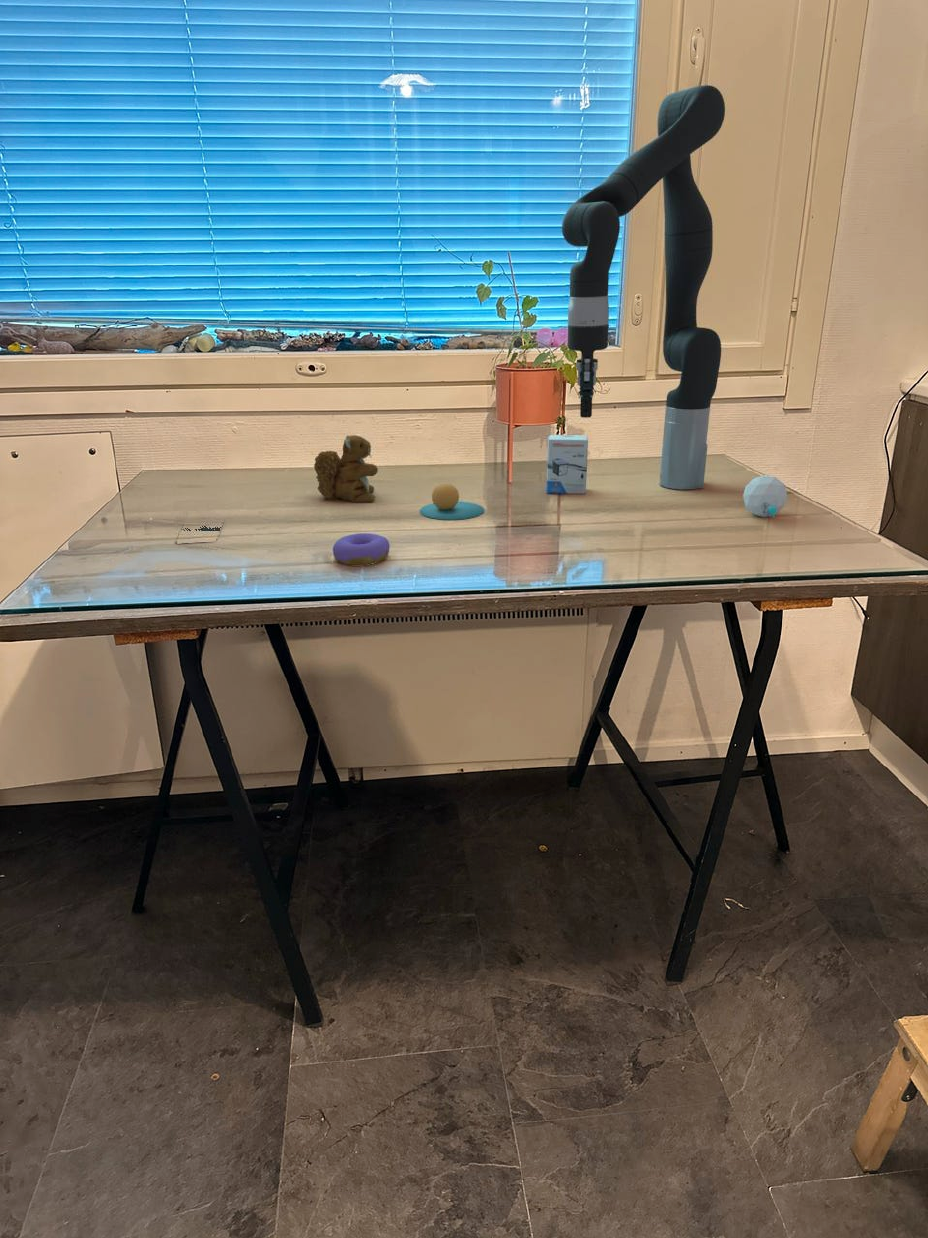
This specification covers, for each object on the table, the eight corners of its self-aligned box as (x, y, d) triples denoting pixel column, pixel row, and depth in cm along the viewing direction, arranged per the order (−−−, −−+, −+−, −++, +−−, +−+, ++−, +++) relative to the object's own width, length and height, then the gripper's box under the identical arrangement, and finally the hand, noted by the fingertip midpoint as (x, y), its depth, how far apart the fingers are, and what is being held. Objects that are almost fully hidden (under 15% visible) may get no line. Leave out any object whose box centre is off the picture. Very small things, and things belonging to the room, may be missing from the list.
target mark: (488, 503, 170) (488, 502, 170) (478, 521, 158) (478, 520, 158) (427, 501, 172) (427, 500, 172) (413, 518, 160) (413, 517, 160)
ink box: (546, 493, 176) (547, 439, 171) (546, 487, 181) (547, 434, 176) (586, 494, 175) (588, 439, 171) (585, 488, 180) (587, 434, 175)
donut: (362, 544, 145) (364, 519, 143) (399, 564, 141) (402, 539, 138) (319, 558, 138) (321, 533, 136) (357, 581, 134) (360, 554, 131)
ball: (437, 505, 169) (462, 506, 167) (429, 513, 164) (455, 514, 162) (435, 479, 166) (461, 479, 165) (427, 486, 162) (453, 487, 160)
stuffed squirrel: (377, 502, 172) (373, 440, 166) (310, 503, 172) (305, 441, 166) (382, 490, 181) (378, 431, 175) (318, 491, 181) (313, 431, 176)
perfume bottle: (789, 492, 161) (804, 516, 150) (751, 514, 164) (763, 539, 154) (770, 461, 158) (784, 483, 148) (732, 484, 161) (743, 508, 151)
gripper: (609, 324, 145) (606, 423, 152) (607, 319, 157) (604, 410, 164) (567, 325, 146) (565, 423, 153) (568, 320, 158) (567, 410, 165)
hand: (585, 416), depth 158 cm, fingers closed
